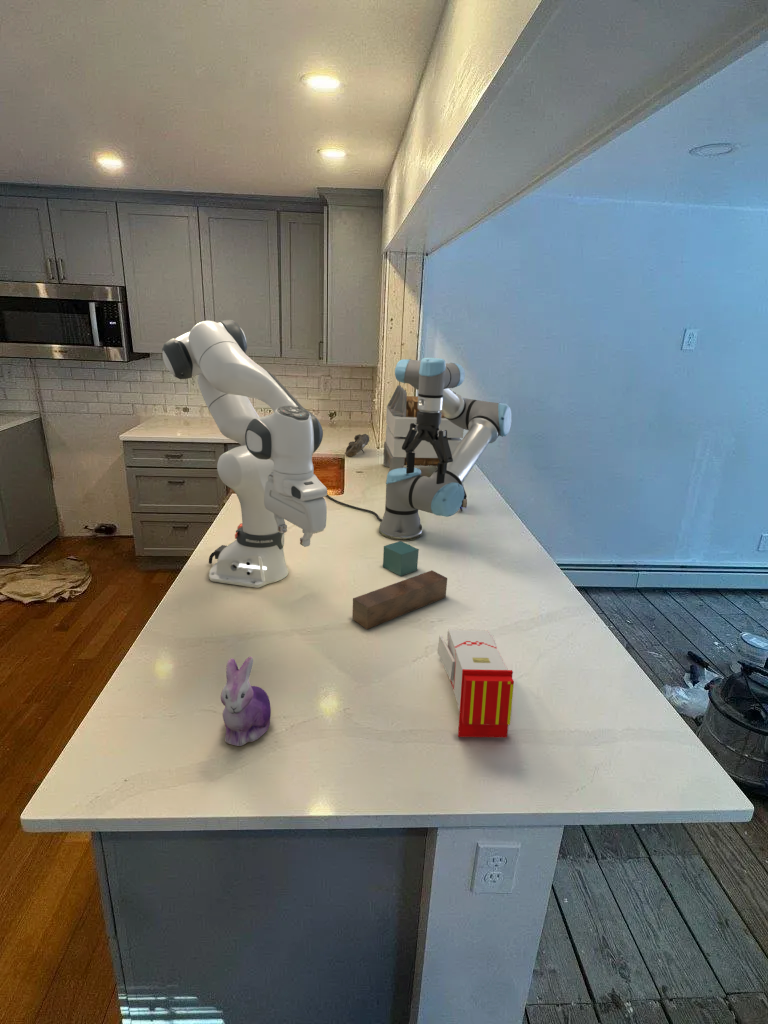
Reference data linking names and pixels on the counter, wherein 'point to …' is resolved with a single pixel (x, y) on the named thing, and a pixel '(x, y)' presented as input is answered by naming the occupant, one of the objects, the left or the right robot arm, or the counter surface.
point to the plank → (398, 599)
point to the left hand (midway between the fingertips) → (293, 538)
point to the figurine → (244, 705)
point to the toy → (478, 682)
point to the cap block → (400, 558)
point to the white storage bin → (398, 426)
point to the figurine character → (464, 501)
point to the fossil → (357, 445)
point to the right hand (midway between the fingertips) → (424, 478)
